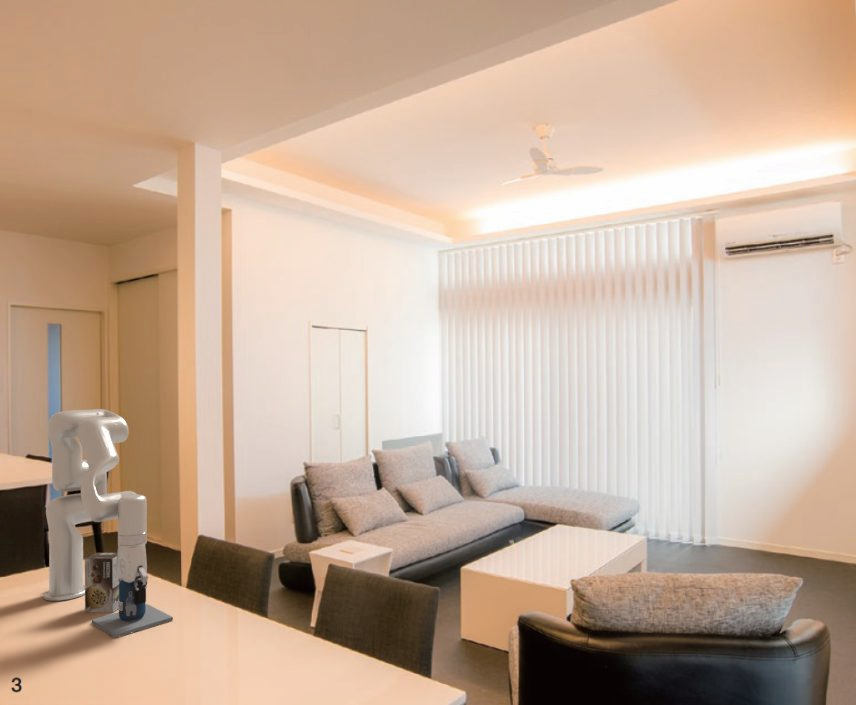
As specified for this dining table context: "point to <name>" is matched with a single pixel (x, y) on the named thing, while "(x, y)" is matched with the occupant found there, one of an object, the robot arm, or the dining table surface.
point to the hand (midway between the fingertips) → (132, 599)
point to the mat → (119, 628)
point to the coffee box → (101, 583)
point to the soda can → (129, 603)
